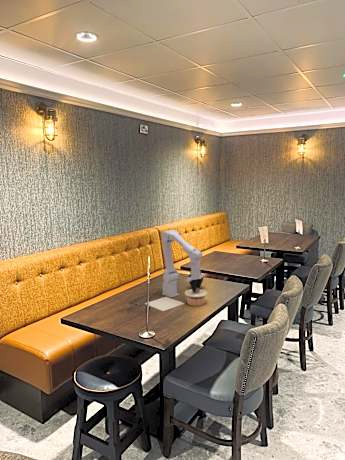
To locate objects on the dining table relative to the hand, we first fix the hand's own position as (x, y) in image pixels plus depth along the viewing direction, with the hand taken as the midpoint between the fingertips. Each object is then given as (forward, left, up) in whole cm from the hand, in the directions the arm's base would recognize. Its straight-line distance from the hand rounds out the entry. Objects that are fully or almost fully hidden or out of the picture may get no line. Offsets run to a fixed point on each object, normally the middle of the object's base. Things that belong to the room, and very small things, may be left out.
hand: (195, 290), depth 227 cm
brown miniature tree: (-21, +22, -8) cm, 32 cm away
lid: (0, 0, -2) cm, 2 cm away
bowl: (0, 0, -8) cm, 8 cm away
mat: (-13, -15, -8) cm, 21 cm away
